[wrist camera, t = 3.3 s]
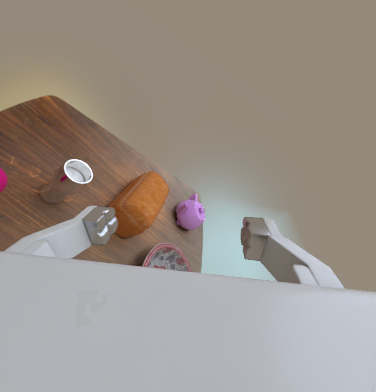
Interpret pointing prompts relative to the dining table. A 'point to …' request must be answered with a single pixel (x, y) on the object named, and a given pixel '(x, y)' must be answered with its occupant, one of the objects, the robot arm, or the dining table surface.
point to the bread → (139, 204)
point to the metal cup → (66, 181)
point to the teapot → (190, 213)
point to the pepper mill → (2, 180)
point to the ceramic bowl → (167, 258)
